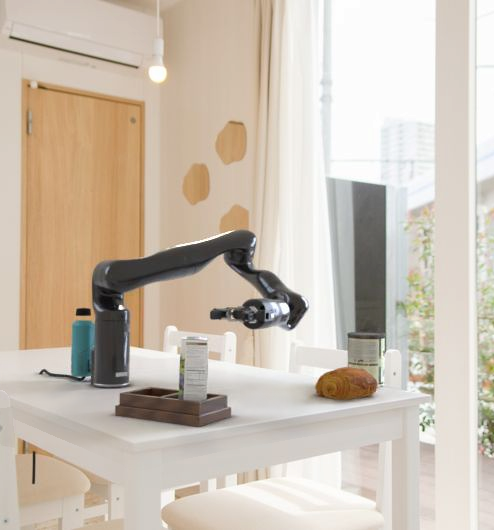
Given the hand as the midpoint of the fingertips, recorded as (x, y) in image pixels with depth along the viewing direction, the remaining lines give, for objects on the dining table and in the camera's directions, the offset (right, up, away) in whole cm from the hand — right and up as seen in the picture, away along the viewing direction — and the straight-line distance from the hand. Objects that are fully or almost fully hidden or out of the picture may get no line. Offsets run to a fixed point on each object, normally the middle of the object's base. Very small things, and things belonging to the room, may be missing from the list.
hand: (227, 315), depth 159 cm
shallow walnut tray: (-11, -20, -14) cm, 27 cm away
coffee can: (+37, -22, +33) cm, 54 cm away
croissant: (+29, -21, +14) cm, 38 cm away
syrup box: (-6, -18, -16) cm, 25 cm away
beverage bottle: (-41, -20, +32) cm, 56 cm away
